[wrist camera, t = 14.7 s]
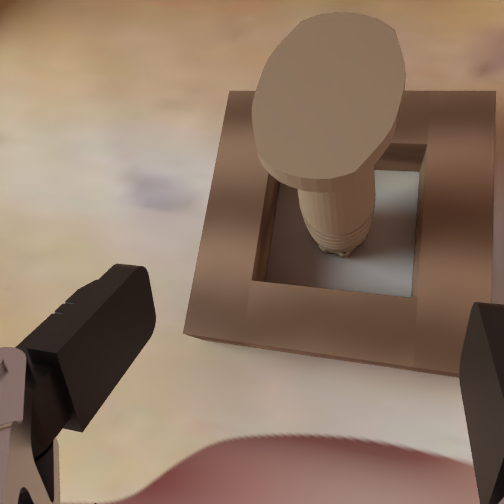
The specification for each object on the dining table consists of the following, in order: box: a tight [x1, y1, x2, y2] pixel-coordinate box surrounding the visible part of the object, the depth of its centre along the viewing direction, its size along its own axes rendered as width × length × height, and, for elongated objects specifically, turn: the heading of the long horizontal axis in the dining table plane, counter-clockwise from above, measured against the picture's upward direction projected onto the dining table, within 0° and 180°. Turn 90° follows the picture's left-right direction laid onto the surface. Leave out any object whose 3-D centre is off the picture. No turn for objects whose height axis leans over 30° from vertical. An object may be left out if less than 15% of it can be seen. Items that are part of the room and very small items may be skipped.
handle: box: [252, 12, 406, 258], centre depth 22 cm, size 5×6×15 cm
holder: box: [183, 91, 496, 377], centre depth 28 cm, size 16×16×4 cm
